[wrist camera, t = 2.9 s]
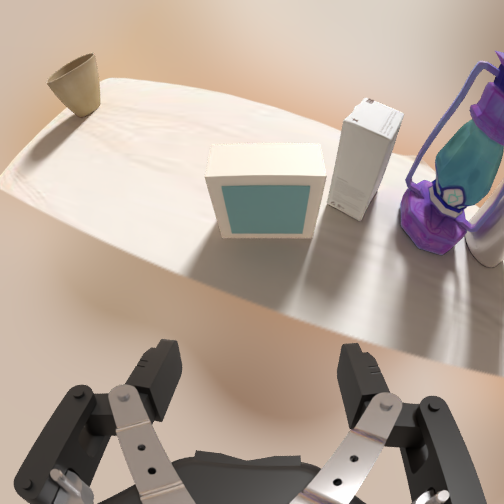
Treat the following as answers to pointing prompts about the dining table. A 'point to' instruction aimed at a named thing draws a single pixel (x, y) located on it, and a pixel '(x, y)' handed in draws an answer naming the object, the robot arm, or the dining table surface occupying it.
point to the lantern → (458, 170)
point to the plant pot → (78, 85)
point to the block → (266, 188)
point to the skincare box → (363, 156)
